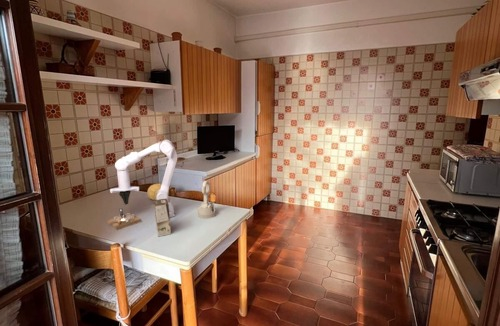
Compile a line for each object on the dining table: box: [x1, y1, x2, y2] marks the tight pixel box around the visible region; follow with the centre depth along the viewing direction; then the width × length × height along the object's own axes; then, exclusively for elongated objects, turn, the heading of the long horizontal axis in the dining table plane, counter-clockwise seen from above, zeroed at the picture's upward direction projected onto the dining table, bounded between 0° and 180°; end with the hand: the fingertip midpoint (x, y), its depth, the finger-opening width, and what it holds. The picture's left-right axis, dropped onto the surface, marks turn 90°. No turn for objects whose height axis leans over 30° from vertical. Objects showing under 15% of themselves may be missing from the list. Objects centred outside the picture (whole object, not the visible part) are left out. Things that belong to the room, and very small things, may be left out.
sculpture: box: [146, 183, 162, 201], centre depth 182 cm, size 12×12×11 cm
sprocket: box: [112, 208, 135, 224], centre depth 145 cm, size 11×11×5 cm
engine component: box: [197, 180, 216, 220], centre depth 153 cm, size 11×20×10 cm
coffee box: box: [153, 199, 172, 237], centre depth 133 cm, size 9×6×16 cm
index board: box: [106, 212, 142, 231], centre depth 146 cm, size 13×13×4 cm
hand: (126, 203), depth 148 cm, fingers closed
